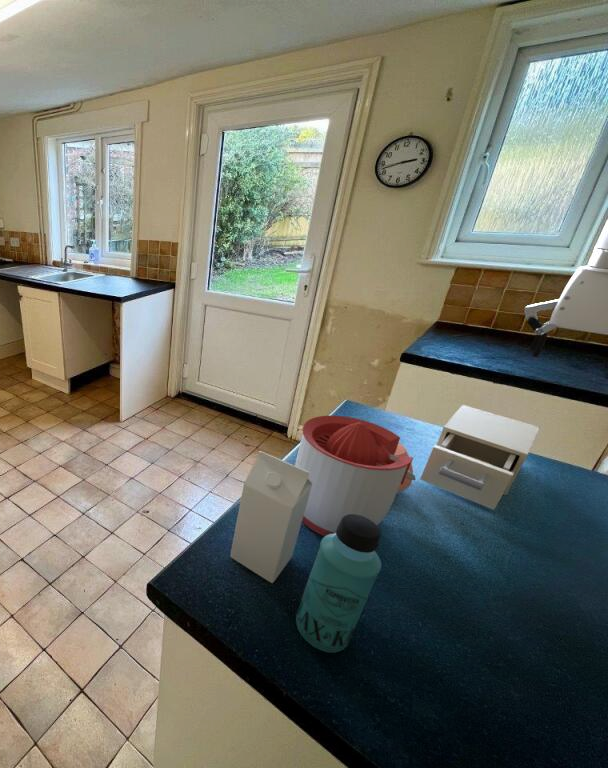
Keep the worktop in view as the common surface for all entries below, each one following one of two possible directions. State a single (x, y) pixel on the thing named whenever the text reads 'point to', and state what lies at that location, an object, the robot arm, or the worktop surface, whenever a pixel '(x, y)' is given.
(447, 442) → the drawer
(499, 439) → the cabinet
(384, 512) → the citrus juicer
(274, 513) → the milk carton
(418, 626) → the worktop surface
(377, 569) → the beverage bottle
